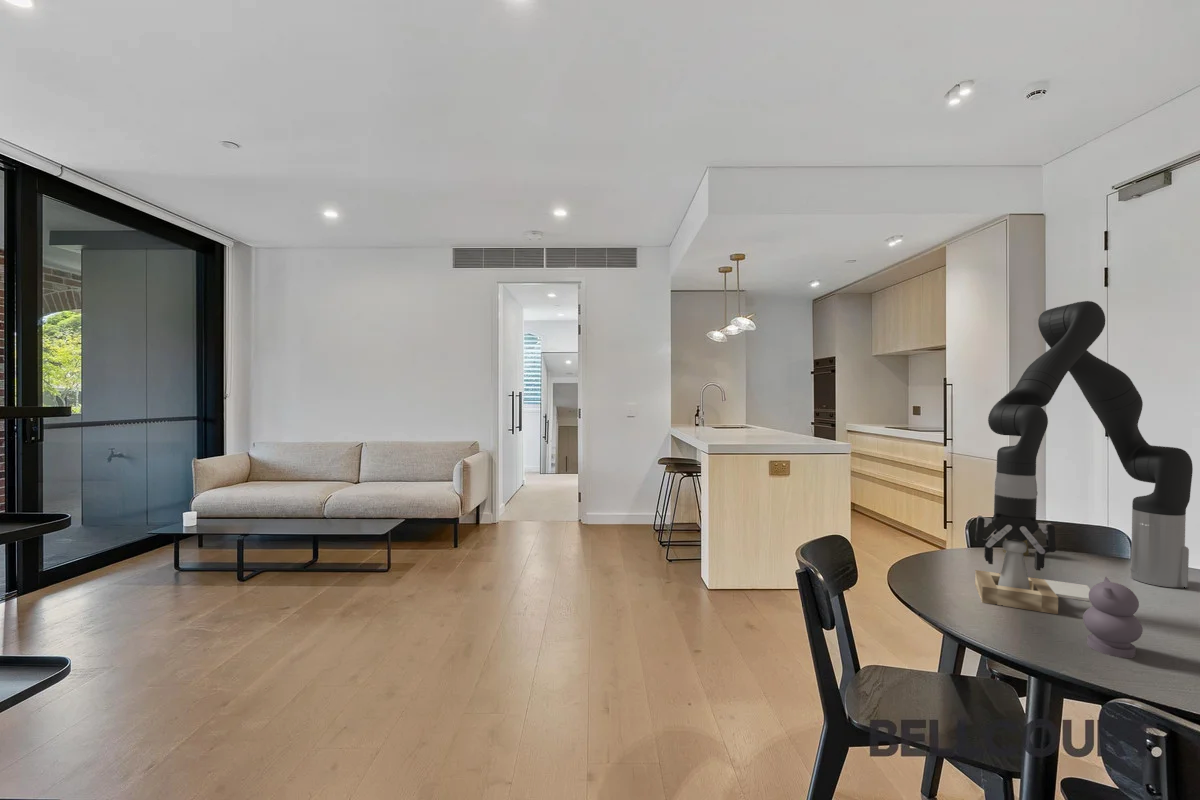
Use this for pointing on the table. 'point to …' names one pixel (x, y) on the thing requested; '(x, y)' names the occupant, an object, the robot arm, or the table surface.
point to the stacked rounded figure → (1112, 619)
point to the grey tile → (1069, 590)
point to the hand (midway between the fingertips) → (1013, 566)
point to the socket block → (1016, 593)
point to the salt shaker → (1014, 565)
